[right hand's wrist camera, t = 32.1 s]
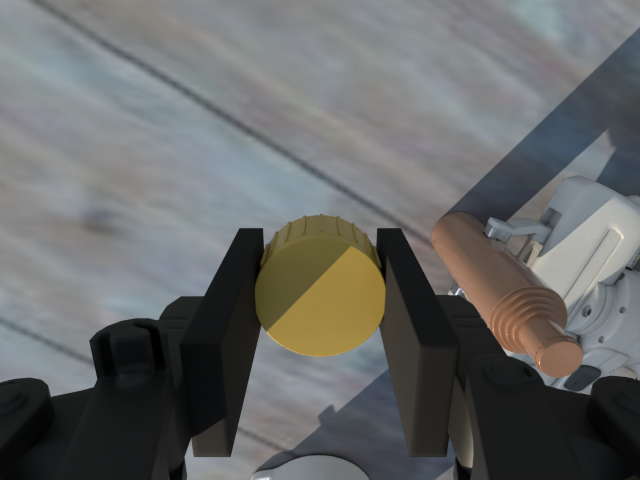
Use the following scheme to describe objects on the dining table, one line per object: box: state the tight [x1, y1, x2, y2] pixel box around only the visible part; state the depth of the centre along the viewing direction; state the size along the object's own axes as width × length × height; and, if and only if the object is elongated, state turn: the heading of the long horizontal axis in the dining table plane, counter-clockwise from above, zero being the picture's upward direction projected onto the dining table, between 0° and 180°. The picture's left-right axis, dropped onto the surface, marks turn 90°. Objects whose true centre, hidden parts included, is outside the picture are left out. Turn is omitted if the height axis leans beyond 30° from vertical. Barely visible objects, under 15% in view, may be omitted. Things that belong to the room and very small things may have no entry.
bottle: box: [431, 212, 583, 378], centre depth 36 cm, size 5×5×21 cm
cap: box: [255, 214, 386, 356], centre depth 13 cm, size 4×4×2 cm
